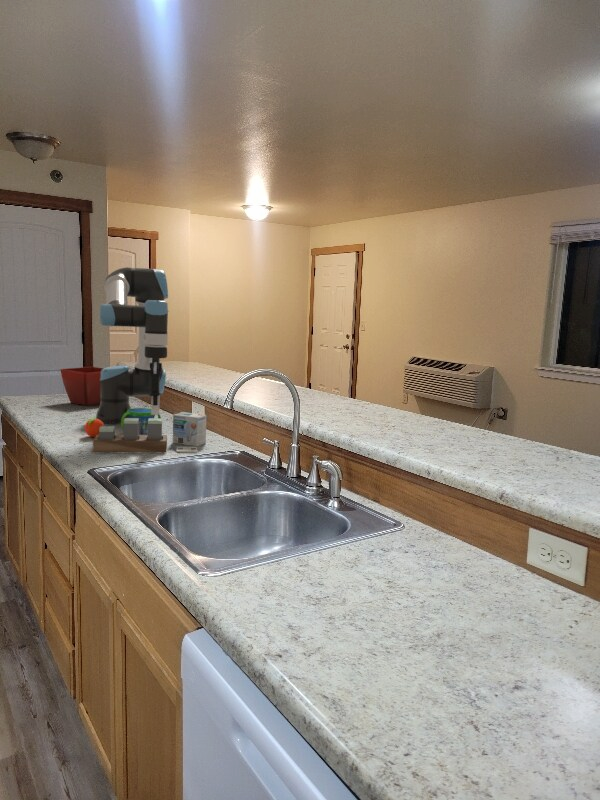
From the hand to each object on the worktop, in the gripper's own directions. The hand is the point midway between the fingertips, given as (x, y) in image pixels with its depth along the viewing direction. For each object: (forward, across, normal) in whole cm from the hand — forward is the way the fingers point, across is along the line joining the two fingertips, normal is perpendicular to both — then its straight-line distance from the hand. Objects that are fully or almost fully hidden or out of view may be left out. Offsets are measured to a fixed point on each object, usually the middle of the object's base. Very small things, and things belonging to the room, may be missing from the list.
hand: (155, 414), depth 208 cm
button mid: (+9, 0, -8) cm, 12 cm away
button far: (+9, 0, 0) cm, 9 cm away
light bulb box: (+13, -10, +12) cm, 20 cm away
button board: (+13, 0, -8) cm, 15 cm away
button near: (+12, 0, -16) cm, 20 cm away
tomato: (+13, -19, -23) cm, 33 cm away
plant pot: (+12, -96, -36) cm, 103 cm away
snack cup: (+13, -21, -6) cm, 25 cm away
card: (+13, +2, +11) cm, 17 cm away
